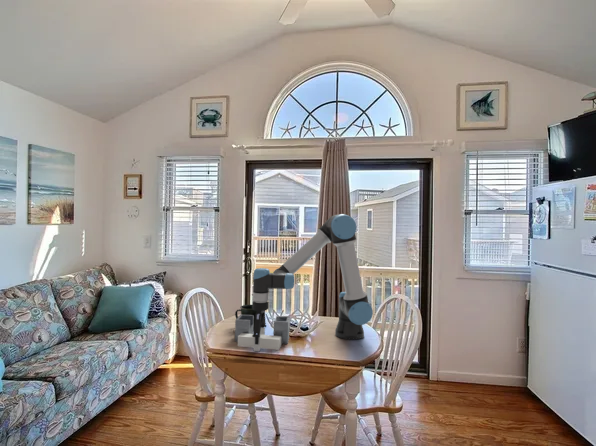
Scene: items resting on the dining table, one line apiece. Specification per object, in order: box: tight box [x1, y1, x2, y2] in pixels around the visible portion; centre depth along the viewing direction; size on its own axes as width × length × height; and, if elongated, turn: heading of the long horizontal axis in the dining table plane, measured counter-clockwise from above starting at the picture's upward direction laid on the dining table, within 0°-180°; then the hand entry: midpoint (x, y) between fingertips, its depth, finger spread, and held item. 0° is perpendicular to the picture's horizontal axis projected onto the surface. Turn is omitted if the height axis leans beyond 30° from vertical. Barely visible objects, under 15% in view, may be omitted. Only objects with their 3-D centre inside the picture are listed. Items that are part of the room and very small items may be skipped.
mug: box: [234, 304, 257, 332], centre depth 194 cm, size 11×15×12 cm
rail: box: [237, 333, 282, 351], centre depth 166 cm, size 20×5×5 cm, turn 80°
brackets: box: [234, 313, 291, 345], centre depth 176 cm, size 26×11×10 cm, turn 87°
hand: (259, 345), depth 166 cm, fingers open, 13 cm apart
